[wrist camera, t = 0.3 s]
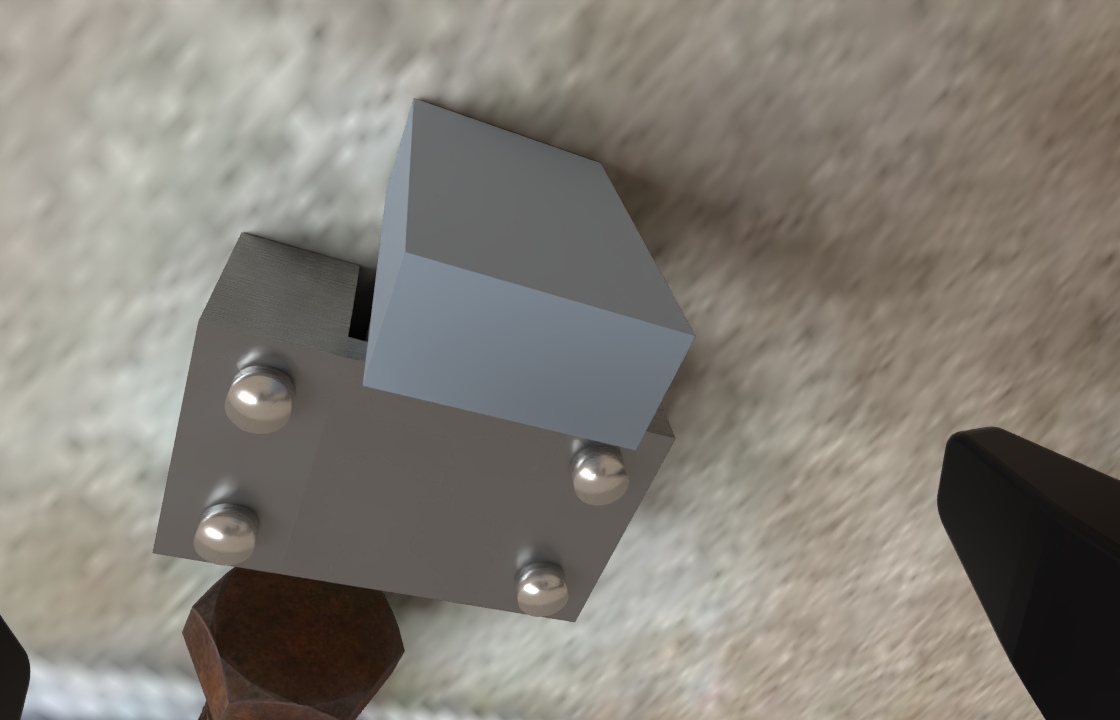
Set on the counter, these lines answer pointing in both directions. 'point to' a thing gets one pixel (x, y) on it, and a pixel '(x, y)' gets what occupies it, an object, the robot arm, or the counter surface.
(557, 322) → the handle
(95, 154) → the counter surface
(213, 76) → the counter surface
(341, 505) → the housing
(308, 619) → the brown lumpy shape
